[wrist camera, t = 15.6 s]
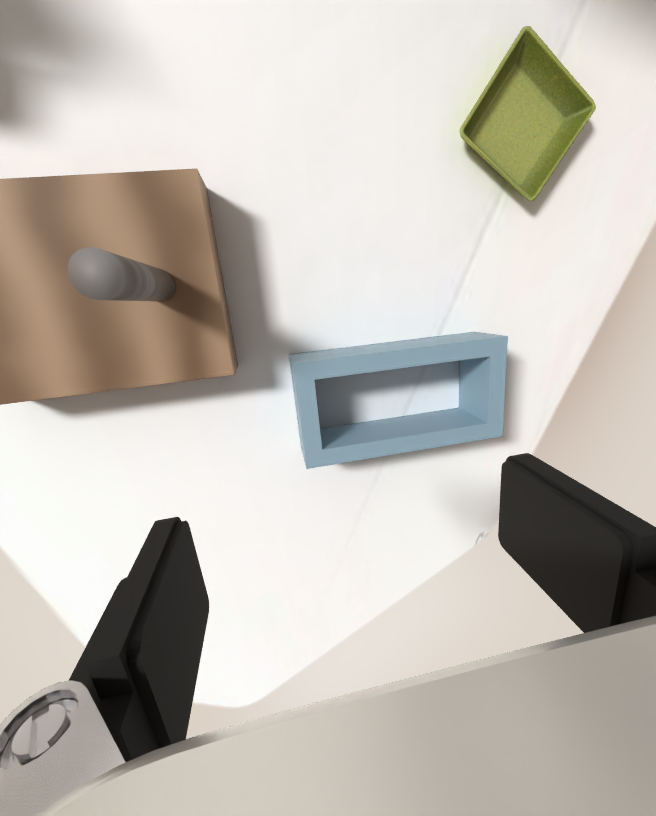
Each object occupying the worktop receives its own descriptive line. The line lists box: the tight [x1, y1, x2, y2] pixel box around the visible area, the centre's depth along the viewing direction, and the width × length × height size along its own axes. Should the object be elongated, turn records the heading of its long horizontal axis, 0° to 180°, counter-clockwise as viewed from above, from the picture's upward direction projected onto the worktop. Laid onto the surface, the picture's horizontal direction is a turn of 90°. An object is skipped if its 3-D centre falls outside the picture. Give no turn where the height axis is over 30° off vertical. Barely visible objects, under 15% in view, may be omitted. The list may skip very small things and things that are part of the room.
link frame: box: [289, 332, 508, 469], centre depth 32 cm, size 18×9×5 cm, turn 96°
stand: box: [0, 169, 238, 405], centre depth 22 cm, size 18×14×14 cm
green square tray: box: [460, 26, 596, 201], centre depth 29 cm, size 9×9×2 cm
